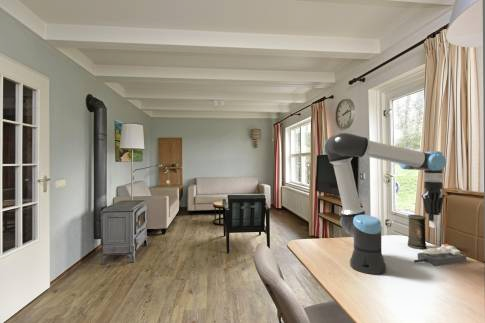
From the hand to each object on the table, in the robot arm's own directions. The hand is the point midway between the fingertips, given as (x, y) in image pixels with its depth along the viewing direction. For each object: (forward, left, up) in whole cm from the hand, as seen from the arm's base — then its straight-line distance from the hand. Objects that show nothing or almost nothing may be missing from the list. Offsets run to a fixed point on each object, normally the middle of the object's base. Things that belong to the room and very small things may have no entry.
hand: (433, 227), depth 128 cm
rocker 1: (-5, -4, -12) cm, 14 cm away
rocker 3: (+7, -3, -12) cm, 14 cm away
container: (+8, +16, -16) cm, 24 cm away
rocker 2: (+1, -4, -12) cm, 13 cm away
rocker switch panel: (-3, -3, -16) cm, 16 cm away
